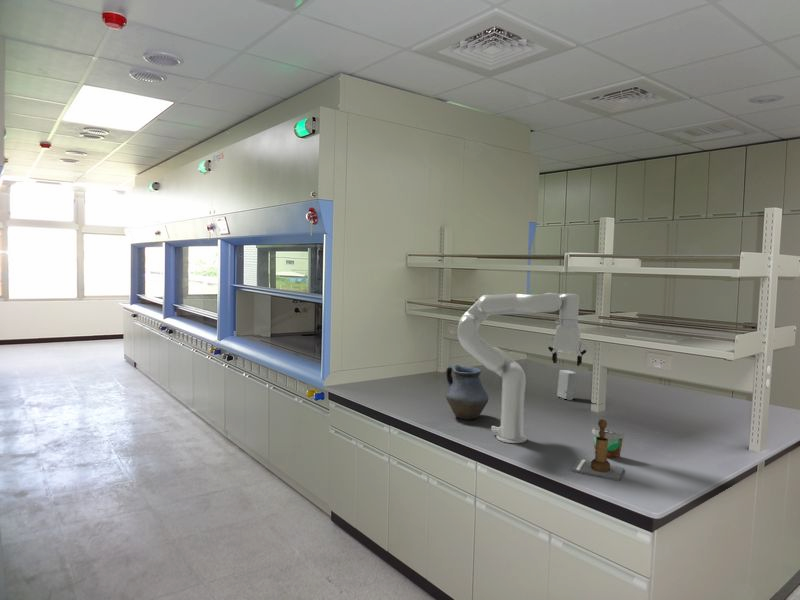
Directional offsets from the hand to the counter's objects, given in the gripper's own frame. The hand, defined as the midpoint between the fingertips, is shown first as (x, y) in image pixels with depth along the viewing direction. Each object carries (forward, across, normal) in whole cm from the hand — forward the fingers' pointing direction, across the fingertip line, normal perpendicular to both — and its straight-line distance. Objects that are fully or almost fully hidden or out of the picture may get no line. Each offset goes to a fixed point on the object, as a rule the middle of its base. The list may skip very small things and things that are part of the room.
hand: (566, 364), depth 225 cm
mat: (+33, +18, -26) cm, 46 cm away
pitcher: (+34, -50, +13) cm, 62 cm away
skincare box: (+34, -16, +81) cm, 89 cm away
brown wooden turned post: (+33, +19, -26) cm, 46 cm away
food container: (+34, +18, -8) cm, 39 cm away
